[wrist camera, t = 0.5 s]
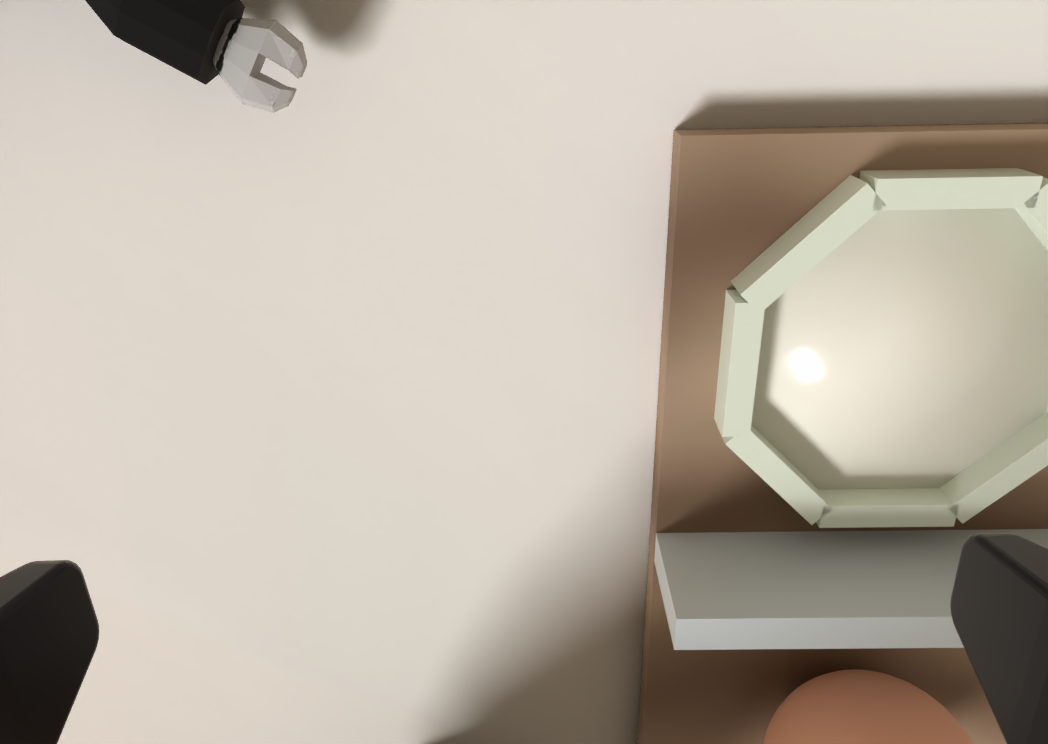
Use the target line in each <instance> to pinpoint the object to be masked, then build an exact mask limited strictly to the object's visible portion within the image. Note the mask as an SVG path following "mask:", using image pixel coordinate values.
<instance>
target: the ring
mask: <svg viewBox="0 0 1048 744" xmlns="http://www.w3.org/2000/svg"><path fill="white" fill-rule="evenodd" d="M731 283H732V284H733V285H734V287H735V288H736V289H737V290H726V295H725V306H724V317H723V327H722V338H721V349H720V359H719V370H718V381H717V392H716V402H715V413H714V419H715V422H716V424H717V427H718V429H719V432H720V434H721V436H722V438H723V441H724V443H725V444H726V445H727V446H728V447H729V448H730V449H731V450H732V451H733V452H734V453H735V454H736V455H737V456H738V457H739V458H740V459H742V460H743V461H744V462H745V463H746V464H747V465H748V466H749V467H750V468H751V469H752V470H753V471H754V472H755V473H756V474H758V475H759V476H760V477H761V478H762V479H763V480H764V481H765V482H766V483H767V484H768V485H769V486H770V487H771V488H772V489H774V490H775V491H776V492H777V493H778V494H779V495H780V496H781V497H782V498H783V499H784V500H785V501H786V502H787V503H788V504H790V505H791V506H792V507H793V508H794V509H795V510H796V511H797V512H798V513H799V514H800V515H801V516H802V517H803V518H804V519H806V520H807V521H808V522H809V523H810V524H811V525H813V524H814V523H815V522H816V523H817V525H818V527H819V528H858V527H954V524H955V520H956V517H957V518H958V519H959V520H960V522H961V523H962V524H963V523H964V522H966V521H967V520H969V519H970V518H972V517H973V516H975V515H976V514H977V513H979V512H980V511H982V510H983V509H985V508H986V507H988V506H989V505H991V504H992V503H994V502H995V501H996V500H998V499H999V498H1001V497H1002V496H1004V495H1005V494H1007V493H1008V492H1010V491H1011V490H1013V489H1014V488H1015V487H1017V486H1018V485H1020V484H1021V483H1023V482H1024V481H1026V480H1027V479H1029V478H1030V477H1031V476H1033V475H1034V474H1036V473H1037V472H1039V471H1040V470H1042V469H1043V468H1045V467H1046V466H1048V179H1047V178H1044V177H1043V176H1041V175H1038V174H1035V173H1032V172H1029V171H1026V170H1023V169H1019V168H982V169H924V170H866V171H860V177H859V179H858V178H856V177H854V176H852V175H850V176H849V177H847V178H846V179H845V180H844V181H843V182H842V183H841V184H840V185H838V186H837V187H836V188H835V189H834V190H833V191H832V192H831V193H829V194H828V195H827V196H826V197H825V198H824V199H823V200H822V201H820V202H819V203H818V204H817V205H816V206H815V207H814V208H813V209H811V210H810V211H809V212H808V213H807V214H806V215H805V216H804V217H802V218H801V219H800V220H799V221H798V222H797V223H796V224H794V225H793V226H792V227H791V228H790V229H789V230H788V231H787V232H785V233H784V234H783V235H782V236H781V237H780V238H779V239H778V240H776V241H775V242H774V243H773V244H772V245H771V246H770V247H769V248H767V249H766V250H765V251H764V252H763V253H762V254H761V255H760V256H758V257H757V258H756V259H755V260H754V261H753V262H752V263H751V264H749V265H748V266H747V267H746V268H745V269H744V270H743V271H742V272H740V273H739V274H738V275H737V276H736V277H735V278H734V279H733V280H731Z"/></svg>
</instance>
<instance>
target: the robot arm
mask: <svg viewBox="0 0 1048 744" xmlns="http://www.w3.org/2000/svg"><path fill="white" fill-rule="evenodd" d="M950 609H951V616H952V620H953V623H954V626H955V628H956V631H957V633H958V635H959V637H960V640H961V642H962V644H963V646H964V649H965V651H966V653H967V655H968V658H969V660H970V662H971V664H972V667H973V669H974V671H975V673H976V676H977V678H978V680H979V682H980V685H981V687H982V689H983V691H984V694H985V696H986V698H987V700H988V703H989V705H990V707H991V709H992V712H993V714H994V716H995V718H996V721H997V723H998V725H999V727H1000V730H1001V732H1002V734H1003V736H1004V739H1005V741H1006V743H1007V744H1048V549H1047V548H1045V547H1043V546H1040V545H1038V544H1036V543H1034V542H1032V541H1030V540H1027V539H1025V538H1023V537H1021V536H1019V535H1016V534H1012V533H985V534H973V535H971V536H969V537H968V538H967V539H966V540H965V542H964V544H963V547H962V550H961V554H960V559H959V563H958V568H957V572H956V577H955V581H954V586H953V590H952V595H951V602H950ZM98 639H99V625H98V620H97V617H96V614H95V610H94V607H93V604H92V601H91V598H90V595H89V592H88V589H87V586H86V582H85V579H84V576H83V573H82V571H81V569H80V568H79V566H78V565H77V564H76V563H74V562H72V561H69V560H58V561H34V562H30V563H27V564H25V565H23V566H21V567H19V568H17V569H15V570H13V571H11V572H9V573H8V574H6V575H4V576H2V577H0V744H57V742H58V740H59V738H60V735H61V733H62V730H63V728H64V725H65V723H66V721H67V718H68V716H69V713H70V711H71V708H72V706H73V704H74V701H75V699H76V696H77V694H78V692H79V689H80V687H81V684H82V682H83V679H84V677H85V675H86V672H87V670H88V667H89V665H90V662H91V660H92V658H93V655H94V653H95V650H96V647H97V643H98Z"/></svg>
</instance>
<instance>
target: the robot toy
mask: <svg viewBox="0 0 1048 744" xmlns="http://www.w3.org/2000/svg"><path fill="white" fill-rule="evenodd" d="M86 2H87V3H88V4H89V5H90V7H91V8H92V9H93V10H94V11H95V13H96V14H97V15H98V16H99V18H100V19H101V20H102V21H103V22H104V24H105V25H106V26H107V27H108V29H109V30H110V31H111V32H112V33H113V35H114V36H116V37H118V38H120V39H121V40H123V41H125V42H127V43H128V44H130V45H132V46H134V47H136V48H138V49H140V50H142V51H143V52H145V53H147V54H149V55H151V56H153V57H155V58H157V59H159V60H160V61H162V62H164V63H166V64H168V65H170V66H172V67H174V68H175V69H177V70H179V71H181V72H183V73H185V74H187V75H189V76H191V77H192V78H194V79H196V80H198V81H200V82H202V83H204V84H207V83H208V82H210V81H211V80H212V79H213V78H214V77H216V76H217V75H218V74H219V75H220V76H221V78H222V79H223V80H224V81H225V83H226V84H227V85H228V86H229V87H230V89H231V90H232V91H233V92H234V94H235V95H236V96H237V97H238V99H239V100H240V101H241V102H242V104H245V105H249V106H252V107H256V108H259V109H263V110H266V111H269V112H273V113H274V112H276V111H278V110H280V109H282V108H284V107H287V106H288V105H289V104H290V102H291V101H292V99H293V97H294V94H295V92H296V90H297V89H295V88H291V87H287V86H285V85H283V84H281V83H279V82H277V81H276V80H274V79H272V78H270V77H268V76H266V75H264V74H262V73H260V71H261V69H262V66H263V64H264V61H265V59H266V57H267V58H268V59H270V60H272V61H273V62H275V63H277V64H279V65H280V66H282V67H284V68H285V69H287V70H289V71H290V72H291V73H292V74H293V75H294V76H296V77H297V78H299V77H302V75H303V73H304V71H305V68H306V66H307V60H306V56H305V52H304V47H303V43H302V42H300V41H299V40H298V39H297V38H296V37H295V36H294V35H292V34H291V33H290V32H289V31H288V30H287V29H286V28H284V27H283V26H282V25H281V24H280V23H279V22H278V21H277V20H262V19H246V18H242V15H243V12H244V8H245V6H244V5H243V4H242V2H241V1H240V0H86Z"/></svg>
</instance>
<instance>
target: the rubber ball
mask: <svg viewBox="0 0 1048 744" xmlns="http://www.w3.org/2000/svg"><path fill="white" fill-rule="evenodd" d="M763 744H973V742H972V740H971V739H970V737H969V736H968V734H967V733H966V731H965V730H964V729H963V727H962V726H961V724H960V723H959V722H958V721H957V720H956V719H955V718H954V717H953V716H952V715H951V713H950V712H949V711H948V710H947V709H946V708H945V707H944V706H943V705H941V704H940V703H939V702H938V701H936V700H935V699H934V698H933V697H931V696H930V695H929V694H927V693H926V692H924V691H923V690H921V689H919V688H918V687H916V686H914V685H912V684H910V683H909V682H906V681H904V680H901V679H899V678H896V677H894V676H891V675H888V674H884V673H881V672H875V671H868V670H857V669H852V670H841V671H835V672H831V673H826V674H823V675H821V676H818V677H815V678H813V679H811V680H809V681H807V682H805V683H804V684H802V685H800V686H799V687H798V688H796V689H795V690H794V691H793V692H792V693H791V694H789V695H788V696H787V698H786V699H785V700H784V701H783V702H782V703H781V705H780V706H779V707H778V709H777V710H776V712H775V713H774V715H773V717H772V719H771V721H770V723H769V726H768V728H767V730H766V734H765V738H764V742H763Z"/></svg>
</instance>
